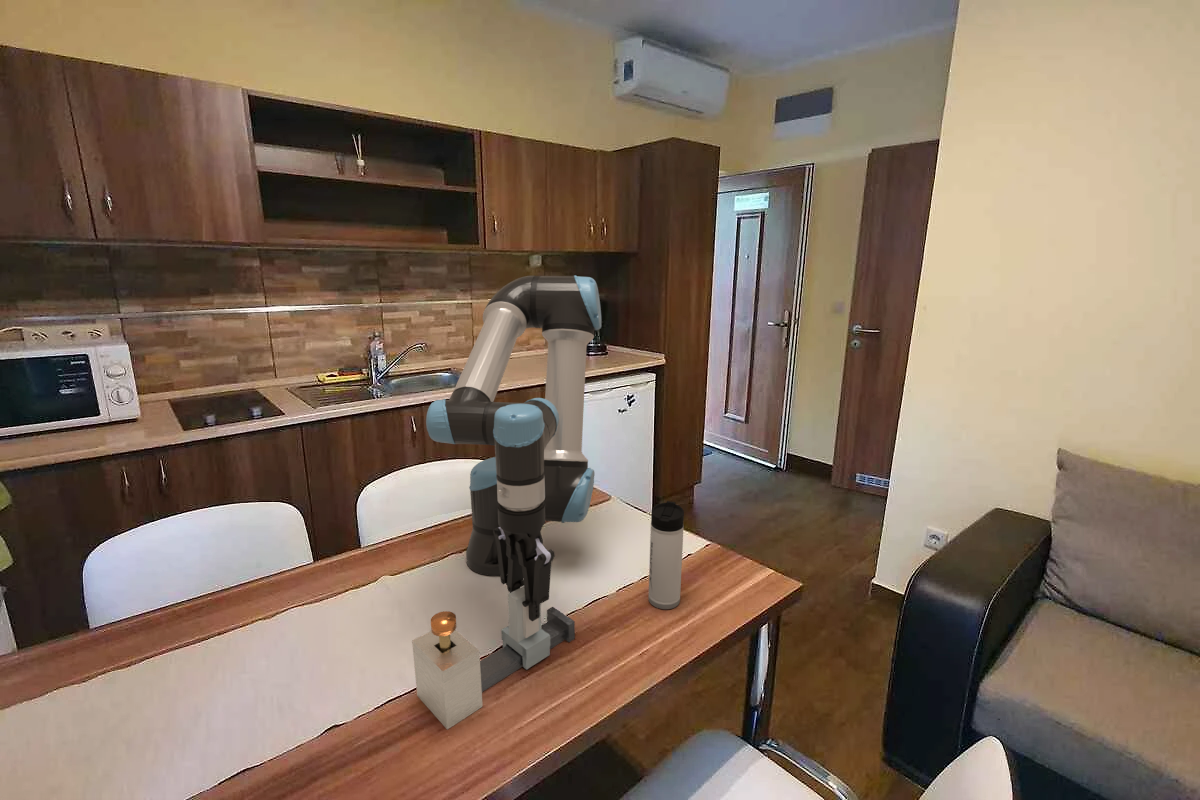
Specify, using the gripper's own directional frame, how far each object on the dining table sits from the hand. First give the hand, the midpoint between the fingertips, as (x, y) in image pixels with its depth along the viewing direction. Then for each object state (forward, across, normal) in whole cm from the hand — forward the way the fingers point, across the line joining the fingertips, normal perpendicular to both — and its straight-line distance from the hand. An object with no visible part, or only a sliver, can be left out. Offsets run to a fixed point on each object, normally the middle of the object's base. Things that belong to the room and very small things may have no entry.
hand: (525, 628), depth 94 cm
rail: (+5, 0, -5) cm, 7 cm away
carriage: (+5, 0, 0) cm, 5 cm away
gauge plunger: (-1, 0, -15) cm, 15 cm away
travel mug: (+5, +7, +29) cm, 30 cm away
